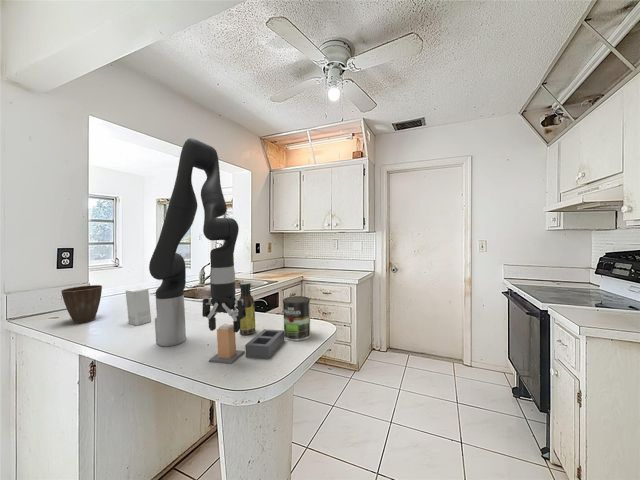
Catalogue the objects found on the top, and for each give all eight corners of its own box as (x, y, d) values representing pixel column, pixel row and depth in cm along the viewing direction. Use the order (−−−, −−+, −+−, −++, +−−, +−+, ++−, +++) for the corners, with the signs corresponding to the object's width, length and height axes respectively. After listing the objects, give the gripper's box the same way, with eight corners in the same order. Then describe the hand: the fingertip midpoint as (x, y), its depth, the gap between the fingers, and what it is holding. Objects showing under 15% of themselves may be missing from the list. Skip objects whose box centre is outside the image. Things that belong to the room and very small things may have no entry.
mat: (208, 361, 88) (208, 359, 88) (223, 350, 95) (223, 349, 95) (231, 363, 86) (231, 361, 86) (244, 352, 94) (244, 350, 94)
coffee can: (304, 342, 100) (303, 303, 100) (279, 339, 104) (277, 301, 103) (315, 332, 110) (313, 296, 110) (291, 329, 114) (290, 295, 113)
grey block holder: (245, 357, 90) (245, 344, 90) (264, 339, 104) (263, 329, 104) (268, 358, 88) (268, 346, 88) (284, 341, 102) (284, 330, 102)
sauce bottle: (257, 333, 111) (255, 283, 110) (242, 336, 108) (240, 285, 107) (252, 328, 116) (250, 281, 116) (237, 332, 113) (235, 283, 112)
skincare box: (151, 321, 130) (149, 288, 129) (135, 326, 124) (133, 291, 124) (142, 319, 134) (140, 287, 134) (127, 323, 129) (125, 289, 128)
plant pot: (59, 323, 132) (56, 289, 132) (97, 314, 145) (95, 283, 144) (69, 328, 124) (66, 292, 123) (109, 319, 136) (107, 286, 136)
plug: (218, 357, 89) (216, 327, 89) (225, 351, 93) (224, 323, 93) (229, 358, 88) (227, 328, 88) (236, 352, 92) (234, 324, 92)
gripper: (248, 279, 91) (250, 328, 92) (210, 278, 95) (212, 325, 95) (236, 283, 84) (238, 336, 84) (195, 282, 87) (197, 333, 88)
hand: (224, 330), depth 90 cm, fingers open, 8 cm apart
